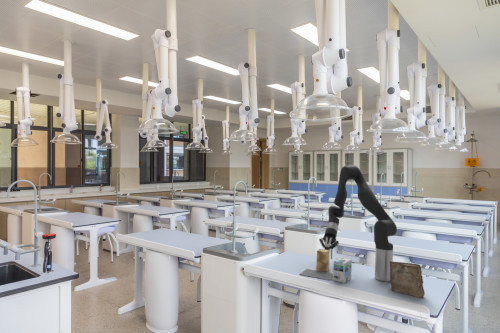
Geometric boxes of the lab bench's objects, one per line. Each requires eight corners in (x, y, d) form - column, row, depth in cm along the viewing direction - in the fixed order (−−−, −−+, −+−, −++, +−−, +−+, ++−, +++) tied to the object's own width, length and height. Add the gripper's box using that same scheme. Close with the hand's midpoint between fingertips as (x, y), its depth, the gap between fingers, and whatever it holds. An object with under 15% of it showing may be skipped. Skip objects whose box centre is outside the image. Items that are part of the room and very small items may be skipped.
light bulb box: (344, 283, 175) (345, 263, 176) (332, 280, 179) (333, 260, 180) (351, 278, 184) (352, 259, 184) (340, 276, 188) (340, 257, 188)
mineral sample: (425, 297, 159) (425, 265, 159) (422, 299, 156) (423, 267, 156) (389, 288, 170) (390, 258, 171) (386, 290, 167) (387, 260, 168)
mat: (336, 274, 191) (336, 273, 191) (330, 280, 179) (330, 280, 179) (306, 269, 199) (306, 268, 199) (299, 274, 187) (299, 274, 187)
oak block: (328, 270, 199) (329, 250, 199) (326, 272, 194) (326, 252, 194) (319, 268, 202) (319, 248, 202) (316, 270, 197) (316, 250, 197)
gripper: (320, 226, 216) (314, 248, 205) (340, 228, 210) (335, 251, 199) (322, 233, 221) (316, 255, 210) (342, 235, 215) (337, 258, 204)
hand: (326, 253), depth 204 cm, fingers closed
